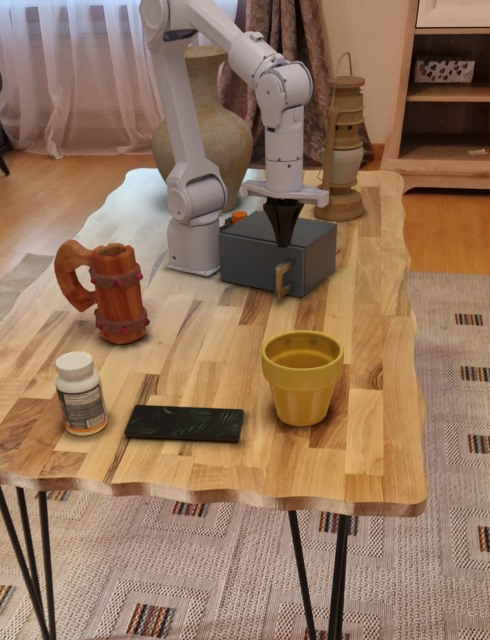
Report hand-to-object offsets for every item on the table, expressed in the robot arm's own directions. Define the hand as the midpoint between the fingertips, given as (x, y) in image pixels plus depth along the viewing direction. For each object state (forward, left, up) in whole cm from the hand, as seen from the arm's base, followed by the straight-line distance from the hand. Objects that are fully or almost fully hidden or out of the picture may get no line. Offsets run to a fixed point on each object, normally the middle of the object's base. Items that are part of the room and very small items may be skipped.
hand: (284, 245), depth 119 cm
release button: (-23, +23, -7) cm, 33 cm away
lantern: (-11, +44, -10) cm, 46 cm away
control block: (-23, +23, -9) cm, 34 cm away
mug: (-19, -24, -10) cm, 32 cm away
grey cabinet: (-6, +9, -9) cm, 14 cm away
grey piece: (-6, 0, -9) cm, 11 cm away
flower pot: (+19, -30, -10) cm, 37 cm away
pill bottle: (-5, -46, -10) cm, 47 cm away
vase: (-40, +36, -10) cm, 55 cm away
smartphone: (+7, -40, -10) cm, 42 cm away
